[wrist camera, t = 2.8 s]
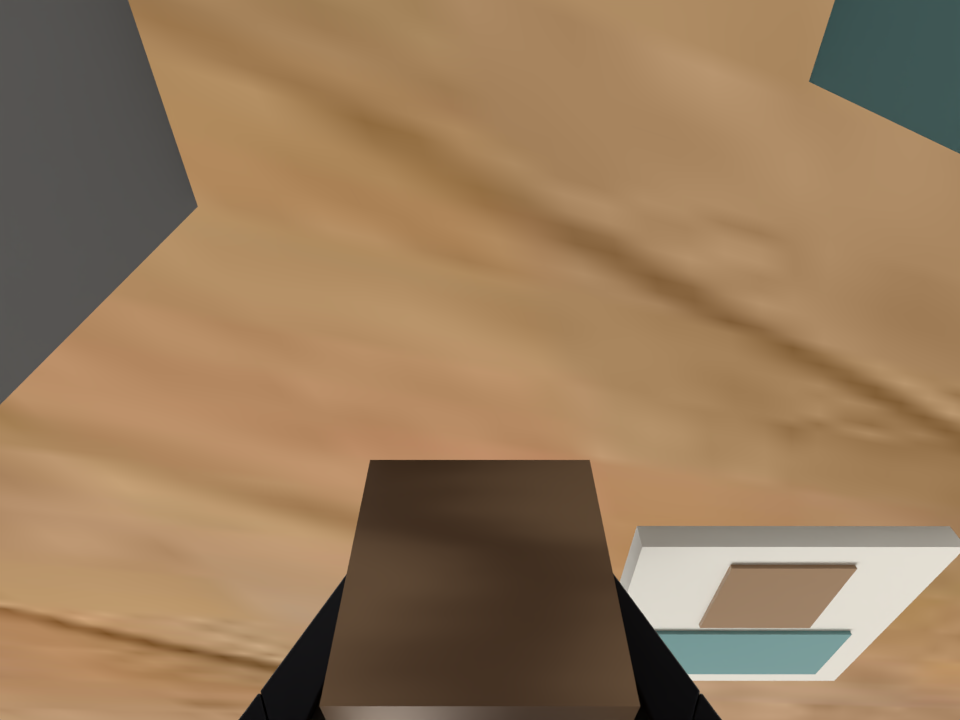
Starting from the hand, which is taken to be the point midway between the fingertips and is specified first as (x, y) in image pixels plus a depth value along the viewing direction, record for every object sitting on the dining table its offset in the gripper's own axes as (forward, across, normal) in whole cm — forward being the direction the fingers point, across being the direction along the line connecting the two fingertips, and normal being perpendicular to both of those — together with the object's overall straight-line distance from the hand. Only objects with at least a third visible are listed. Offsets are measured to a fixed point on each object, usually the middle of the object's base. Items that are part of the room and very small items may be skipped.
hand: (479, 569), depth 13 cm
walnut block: (+1, 0, 0) cm, 1 cm away
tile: (+1, +8, -4) cm, 9 cm away
